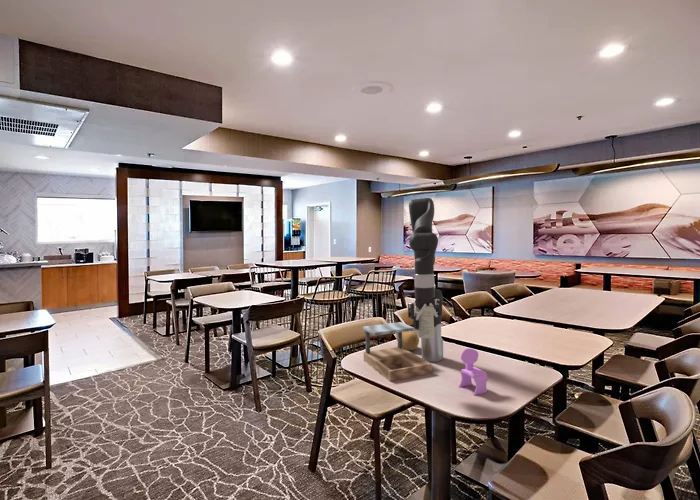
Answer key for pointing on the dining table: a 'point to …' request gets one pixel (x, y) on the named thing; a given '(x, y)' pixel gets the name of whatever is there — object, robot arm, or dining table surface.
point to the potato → (409, 340)
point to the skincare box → (426, 323)
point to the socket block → (394, 354)
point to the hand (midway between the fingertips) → (425, 327)
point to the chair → (472, 372)
